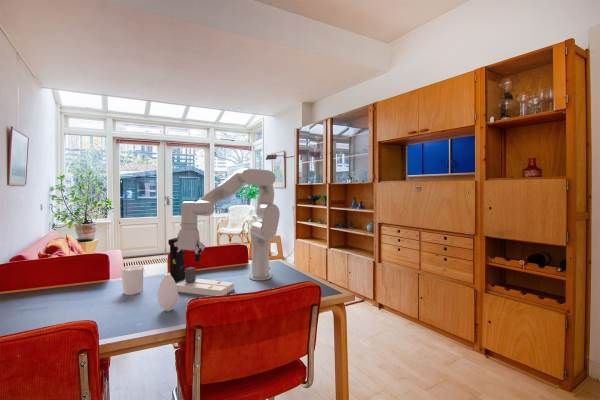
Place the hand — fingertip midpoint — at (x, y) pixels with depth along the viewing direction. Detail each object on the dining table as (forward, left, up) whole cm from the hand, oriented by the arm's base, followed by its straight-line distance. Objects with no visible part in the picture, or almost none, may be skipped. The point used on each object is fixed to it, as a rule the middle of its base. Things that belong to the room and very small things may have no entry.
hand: (189, 260), depth 155 cm
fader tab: (0, 0, -13) cm, 13 cm away
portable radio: (-12, -18, -15) cm, 26 cm away
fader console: (0, +8, -15) cm, 17 cm away
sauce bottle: (+24, +7, -15) cm, 29 cm away
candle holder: (+11, -25, -15) cm, 31 cm away
